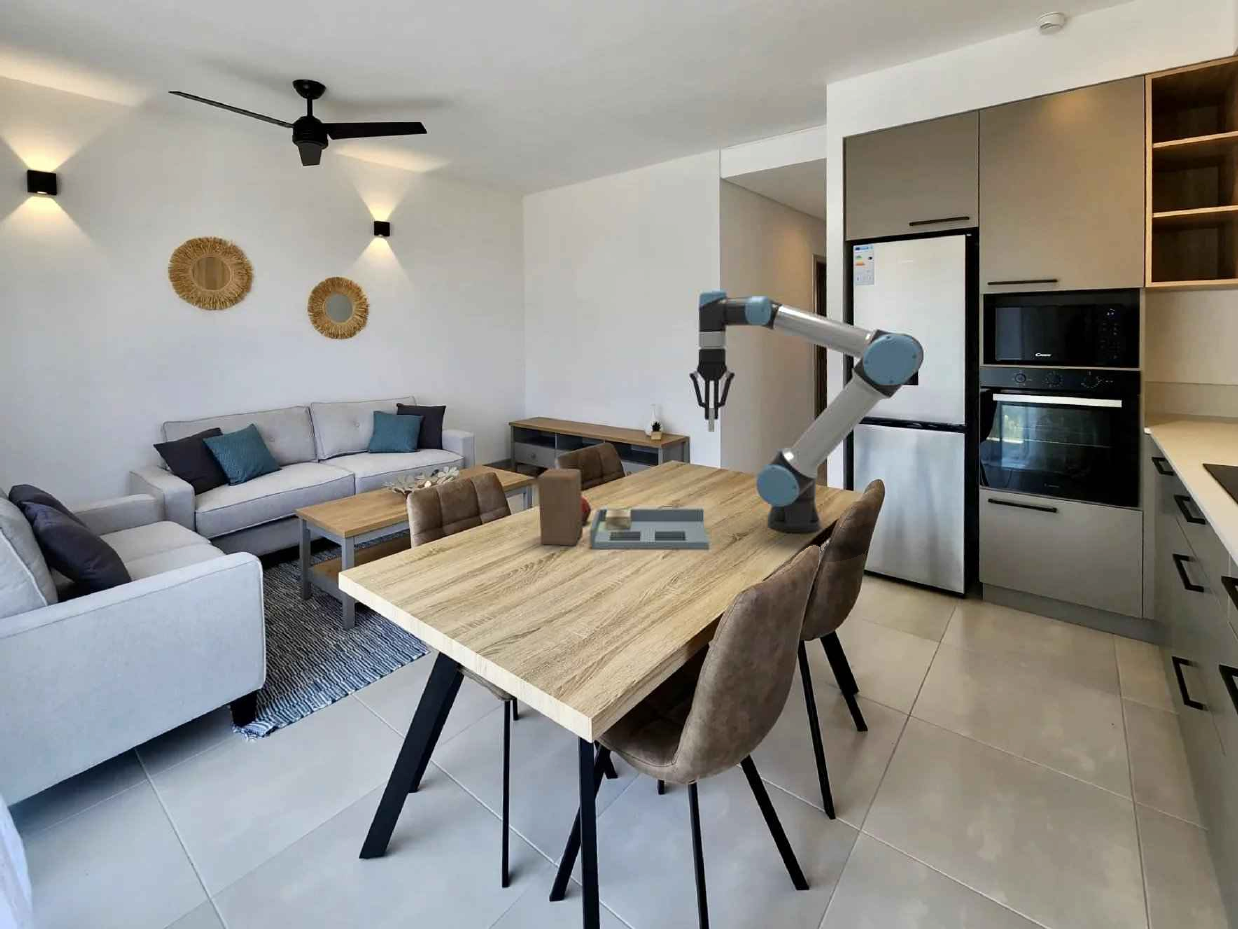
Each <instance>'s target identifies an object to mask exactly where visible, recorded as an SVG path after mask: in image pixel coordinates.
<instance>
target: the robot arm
mask: <svg viewBox="0 0 1238 929" xmlns="http://www.w3.org/2000/svg"><path fill="white" fill-rule="evenodd" d="M727 295H728V294H727V291H725V290H705V291H703V292H701V293H700V294H699V302H698V347H699V350H698V365H697V367H696V370H694V371H693V372H690V373H688V374H689V378H690V379H691V381H692V382H693V388H694V391H695V396H696V400H697V405H698V406H699V407H701V408H703V409H704V419H705V420H706V421H708V422H707V424H708V425H707V428H708V429H707V430H708V432H710V433H712V432H715V421H716V420H718V419H719V409H720V408H722V407H724V406H726V401H727V399H728V395H729V391H730V386H731V382H732V380H733V379H734V378H735V375H736V374H735V373H734V372H732V371H730V370H729V369H728V367H727V364H726V361H727V360H726V358H727V356H726V355H727V354H726V352H727V351H726V348H724V347H726V346H727V341H726V340H727V326H728V327H731V326H732V327H733V326H736V327H738V326H739V327H740V326H742V327H743V326H744V327H746V326H753V327H755V326H756V327H757V326H758V327H762V328H766V329H768V330H772V331H776V332H778V333H781V334H785V335H787V336H790V337H793V338H797V339H799V340H803V341H805V342H808V343H811V344H814V345H818V346H819V347H824V348H826V349H829V350H833V351H836V352H837V353H841V354H845V355H847V356H850V357H853V358H856V359H859V361H857V363H856V364H855V365H854V366H853V368H851V371H852V372H851V374H852V378H851V380H849V381H848V382H847V384H846V385H845V386H844V387H843V388H842V390H840V392H839V393H838V394H837V395H836V397H834V398H833V400H831V402H830V403H829V404H828V405H827V407H826V408H825V409H824V410H823V411H822V412H821V413H820V414H819V416H818V417H817V418H816V419H815V421H813V423H812V424H811V425H810V426H809V427H808V428H807V429H806V431H804V433H803V434H802V435H800V436H801V437H799V439H798V440H797V441H796V442H795V443H794V444H793V445H792V447H783V448H781V449H778V450H776V452H775V457H774V458H773V460H771V462H770V463H769V464H768V465H767V466H764V467H763V468H762V469H761V470H760V472H759V473H758V474H757V478H756V490H757V493H758V494H759V497H760V498H761V499H762V500H763V501H764V502H765V503H767V504H768V505H771V507H770V510H769V512H768V516H767V522H766V523H767V526H768V527H770V528H771V529H773V530H776V531H778V532H779V531H780V532H784V533H792V534H806V533H813V532H815V531H818V530H819V529H820V528H821V526H820V525H821V519H820V516H819V511H818V508H817V505H816V488H817V487H816V486H817V484H816V483H817V477H818V475H819V474H818V468H819V467H820V466H821V465H822V464H823V462H824V461H825V460H826V459H827V458H828V457H829V456H830V455H831V453H833V451H835V450H836V448H838V446H839V445H840V444H841V443H842V442H843V441H844V440H845V439H846V437H847V436H848V435H849V434H850V433H851V432H852V431H853V430H855V428H856V427H857V426H858V425H859V424H860V422H861V421H862V420H863V419H864V418H865V417H866V416H867V415H868V414H869V412H871V410H872V409H874V407H875V406H876V405H877V404H878V403H879V402H880V401H881V400H887V399H888V400H889V399H891V398H892V397H893V396H894V395H895V394H896V393H897V391H898V390H900V389H901V388H902V386H903V385H904V384H905V383H906V382H907V381H908V380H909V379H910V378H911V377H912V376H913V375H915V374H916V373H917V372H918V371H919V370H920V369H921V366H922V364H923V362H924V358H925V357H924V354H925V353H924V348H923V346H922V344H921V342H919V340H918V339H916V338H915V337H914V336H912V335H909V334H906V333H896V332H889V331H885V330H882V329H878V328H876V329H875V330H872V331H871V330H869V329H864V328H861V327H859V326H855V325H853V324H852V325H851V324H848V323H845V322H841V321H839V320H836V319H832V318H828V317H826V316H822V315H820V314H816V313H813V312H810V311H806V310H803V309H800V308H797V307H795V306H790V305H786V304H782V303H780V302H776V301H774V300H773V299H770V298H769V297H767V296H765V295H764V296H763V295H761V296H760V295H753V296H738V297H728V296H727ZM724 375H725V378H726V379H725V382H724V386H723V389H722V394H721V398H720V395H719V394H720V390H719V389H720V381H721V380H722V378H723V377H724ZM699 376H700V377H701V378H702V380H703V381H704V402H703V398H702V392H701V389H700V386H699V381H698V378H699ZM711 382H713V407H710V401H711V400H710V399H711V396H710V395H711V394H710V392H711V391H710V390H711V388H710V387H711V386H710V385H711ZM719 398H720V400H719Z"/></svg>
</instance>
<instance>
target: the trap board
mask: <svg viewBox="0 0 1238 929" xmlns="http://www.w3.org/2000/svg"><path fill="white" fill-rule="evenodd" d="M607 510H631V527H630V530H606V518H605V517H606V513H607ZM704 511H705V509H704V508H597V509H596V512H595V515H594V517H593V520H592V523H591V526H590V529H589V531H590V532H589V534H590V550H709V549H710V541H709V538H708V535H707V534H708V533H707V530H706V526H705V522H704Z"/></svg>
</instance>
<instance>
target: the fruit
mask: <svg viewBox="0 0 1238 929" xmlns="http://www.w3.org/2000/svg"><path fill="white" fill-rule="evenodd" d="M581 498H582V524H583V523H585V522H587V521H588V519H589V518H590V515H591V512H592V507H591V506H590V503H589V502H588V501H587V500H586V499H585V498H584V497H582V496H581Z"/></svg>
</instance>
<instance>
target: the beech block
mask: <svg viewBox="0 0 1238 929" xmlns="http://www.w3.org/2000/svg"><path fill="white" fill-rule="evenodd" d="M605 518H606V530H630V527H631V510H607V513H606V517H605Z"/></svg>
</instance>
